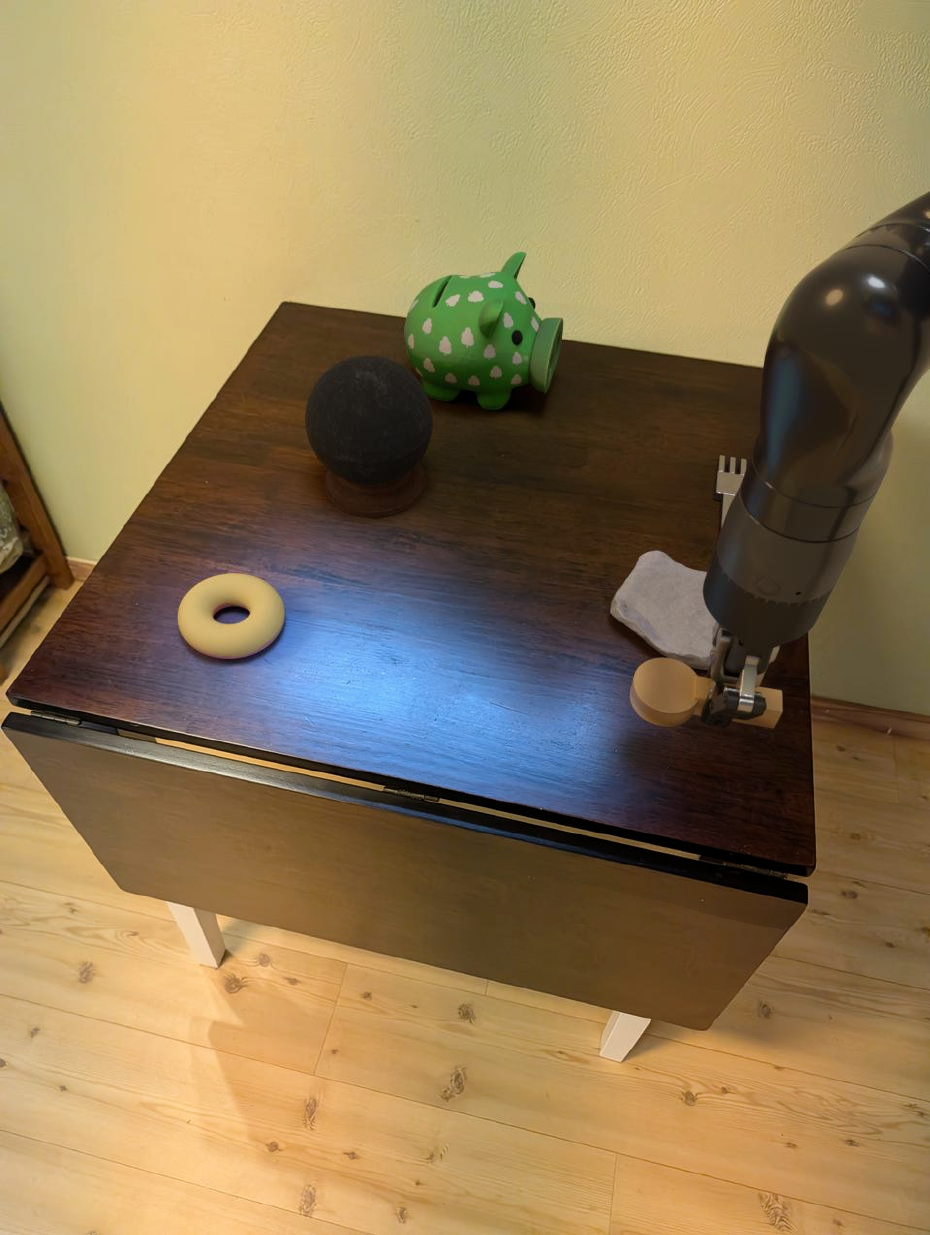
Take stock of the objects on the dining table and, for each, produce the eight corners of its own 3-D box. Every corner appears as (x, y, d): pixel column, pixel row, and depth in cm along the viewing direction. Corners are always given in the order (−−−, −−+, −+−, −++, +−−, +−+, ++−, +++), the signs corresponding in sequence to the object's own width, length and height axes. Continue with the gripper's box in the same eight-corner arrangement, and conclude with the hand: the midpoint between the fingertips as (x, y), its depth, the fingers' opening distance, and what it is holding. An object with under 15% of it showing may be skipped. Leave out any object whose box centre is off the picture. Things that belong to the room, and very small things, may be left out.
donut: (253, 687, 79) (305, 610, 83) (246, 667, 75) (301, 587, 79) (162, 641, 80) (218, 567, 85) (151, 619, 76) (210, 543, 80)
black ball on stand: (430, 526, 90) (426, 411, 78) (307, 522, 90) (285, 406, 78) (438, 446, 98) (435, 331, 86) (325, 442, 98) (307, 327, 87)
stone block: (709, 692, 79) (752, 610, 82) (715, 669, 75) (760, 584, 78) (595, 639, 83) (640, 564, 87) (595, 615, 79) (643, 537, 83)
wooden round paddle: (773, 691, 67) (781, 673, 65) (774, 746, 64) (783, 729, 62) (632, 667, 68) (637, 649, 66) (626, 720, 65) (631, 703, 63)
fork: (740, 557, 87) (743, 549, 86) (709, 551, 88) (712, 543, 87) (744, 467, 96) (747, 459, 95) (716, 462, 97) (718, 454, 96)
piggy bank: (538, 435, 99) (549, 321, 88) (392, 409, 102) (384, 294, 91) (561, 367, 108) (574, 254, 96) (425, 344, 111) (422, 232, 99)
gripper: (849, 650, 48) (764, 795, 61) (834, 489, 56) (763, 646, 70) (714, 628, 49) (660, 775, 62) (720, 473, 57) (671, 631, 71)
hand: (714, 706), depth 66 cm, fingers closed on wooden round paddle, 2 cm apart
